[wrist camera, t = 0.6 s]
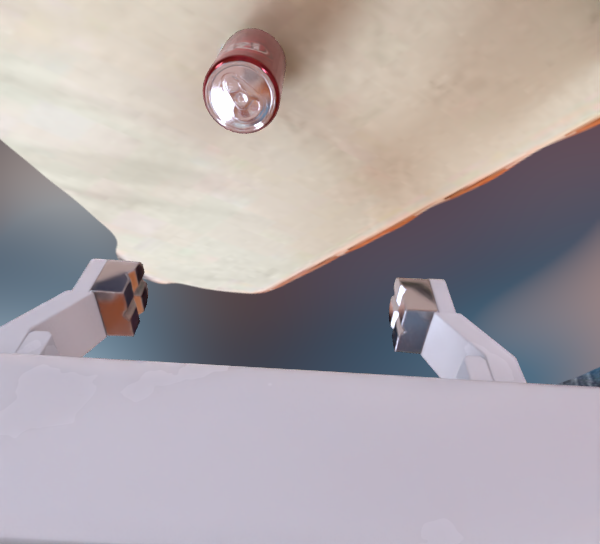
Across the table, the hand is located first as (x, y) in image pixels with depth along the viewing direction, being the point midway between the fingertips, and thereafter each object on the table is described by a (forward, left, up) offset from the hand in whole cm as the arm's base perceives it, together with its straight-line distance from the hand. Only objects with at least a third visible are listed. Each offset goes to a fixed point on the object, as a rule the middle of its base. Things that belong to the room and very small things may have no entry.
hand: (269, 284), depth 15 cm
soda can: (+5, -5, -45) cm, 45 cm away
